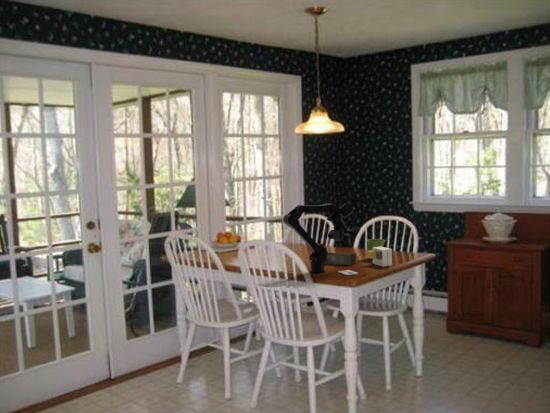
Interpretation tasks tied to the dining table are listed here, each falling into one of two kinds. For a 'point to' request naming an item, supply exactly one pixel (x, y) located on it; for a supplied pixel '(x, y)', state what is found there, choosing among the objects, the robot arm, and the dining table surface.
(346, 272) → the card
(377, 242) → the plant pot
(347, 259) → the beverage carton
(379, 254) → the charcoal button
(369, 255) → the amber button
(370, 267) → the dining table surface
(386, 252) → the console
